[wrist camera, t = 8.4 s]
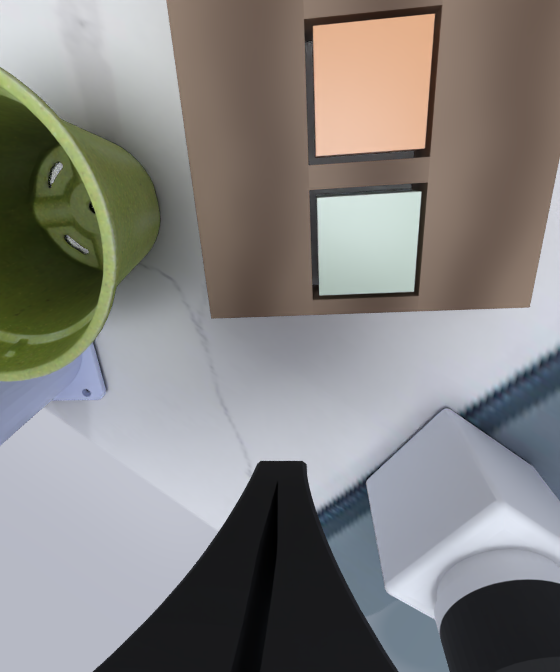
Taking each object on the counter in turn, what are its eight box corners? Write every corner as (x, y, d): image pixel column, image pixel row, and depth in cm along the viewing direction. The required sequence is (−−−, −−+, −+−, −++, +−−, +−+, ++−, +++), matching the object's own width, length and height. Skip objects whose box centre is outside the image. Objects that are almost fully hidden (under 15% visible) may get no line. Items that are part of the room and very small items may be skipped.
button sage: (318, 281, 19) (319, 295, 17) (316, 194, 17) (317, 197, 15) (401, 277, 19) (413, 291, 16) (406, 188, 17) (421, 191, 15)
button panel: (222, 301, 20) (211, 318, 18) (163, -161, 14) (133, -229, 11) (502, 290, 19) (529, 307, 17) (589, -225, 12) (654, -315, 10)
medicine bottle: (362, 480, 24) (407, 738, 13) (445, 403, 22) (585, 644, 11) (447, 532, 25) (552, 807, 14) (534, 465, 23) (743, 739, 12)
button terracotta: (315, 158, 17) (316, 155, 15) (312, 46, 15) (313, 25, 13) (409, 151, 16) (424, 148, 14) (416, 36, 15) (434, 13, 13)
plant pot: (234, 187, 18) (175, 201, 10) (139, 333, 21) (38, 431, 13) (51, 43, 16) (-197, -80, 8) (-21, 227, 20) (-248, 266, 12)
